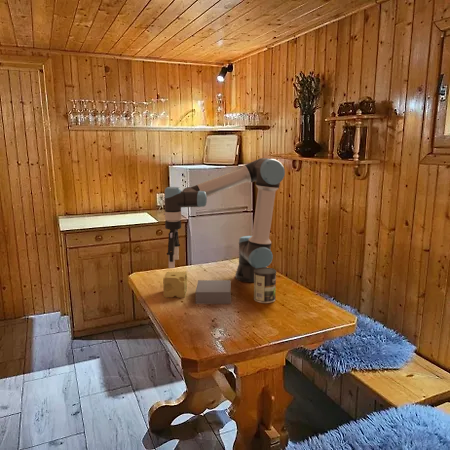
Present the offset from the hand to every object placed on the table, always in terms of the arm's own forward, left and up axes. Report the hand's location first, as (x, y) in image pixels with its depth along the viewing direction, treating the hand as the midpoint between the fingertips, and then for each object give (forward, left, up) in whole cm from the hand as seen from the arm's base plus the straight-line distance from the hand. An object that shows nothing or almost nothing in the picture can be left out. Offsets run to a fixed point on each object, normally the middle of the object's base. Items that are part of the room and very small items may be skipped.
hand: (173, 263), depth 195 cm
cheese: (0, 0, -16) cm, 16 cm away
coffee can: (-43, +6, -16) cm, 46 cm away
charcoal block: (-19, +4, -16) cm, 25 cm away
